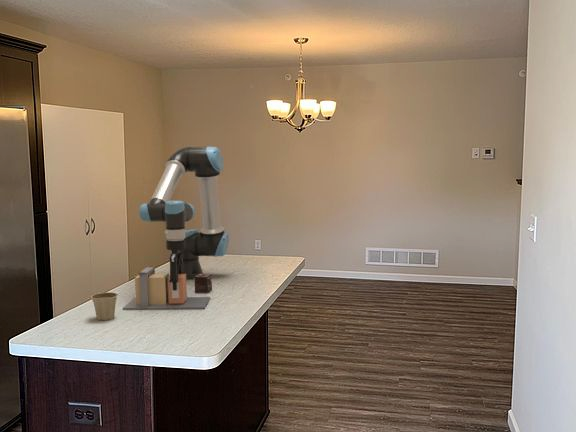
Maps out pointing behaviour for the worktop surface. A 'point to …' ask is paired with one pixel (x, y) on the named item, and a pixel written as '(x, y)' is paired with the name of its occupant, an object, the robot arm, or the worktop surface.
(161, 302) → the holder
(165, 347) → the worktop surface
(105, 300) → the flower pot
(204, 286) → the box
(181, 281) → the block
